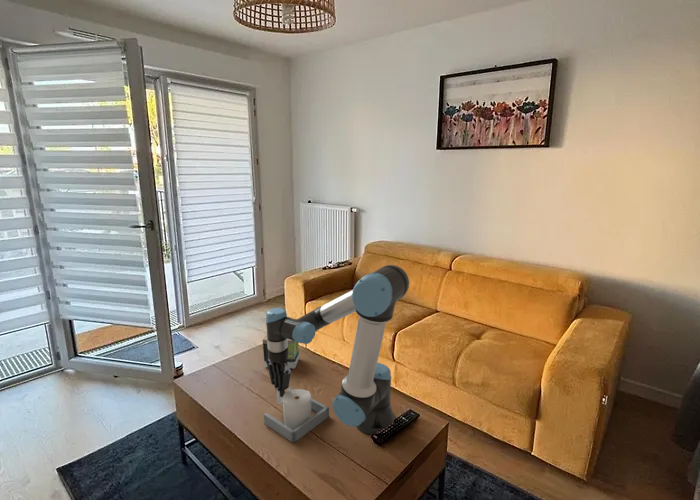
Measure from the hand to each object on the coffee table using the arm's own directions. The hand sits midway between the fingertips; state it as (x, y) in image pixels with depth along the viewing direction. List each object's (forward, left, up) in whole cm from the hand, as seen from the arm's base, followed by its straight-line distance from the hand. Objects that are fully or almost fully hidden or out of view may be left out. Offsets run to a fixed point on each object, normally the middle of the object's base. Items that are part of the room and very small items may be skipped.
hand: (280, 402), depth 153 cm
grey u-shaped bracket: (-9, 0, -4) cm, 9 cm away
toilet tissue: (-9, 0, -4) cm, 10 cm away
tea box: (+27, -24, -4) cm, 37 cm away
